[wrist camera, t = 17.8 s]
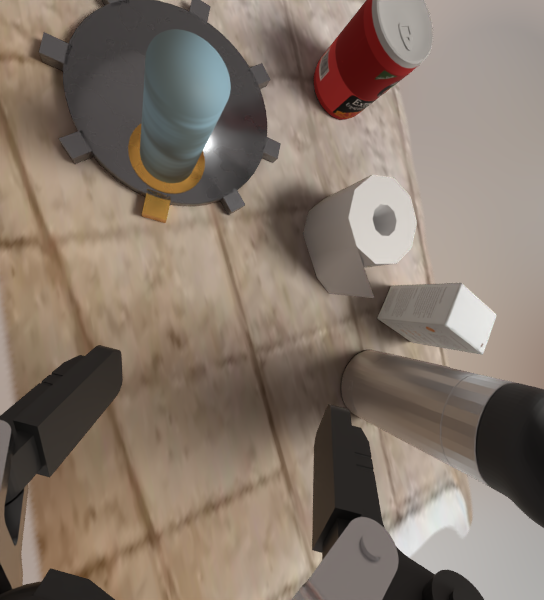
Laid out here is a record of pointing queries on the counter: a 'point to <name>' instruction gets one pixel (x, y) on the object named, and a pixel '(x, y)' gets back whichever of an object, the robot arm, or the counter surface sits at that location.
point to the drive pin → (180, 102)
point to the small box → (439, 316)
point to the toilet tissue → (359, 233)
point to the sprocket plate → (129, 101)
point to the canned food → (372, 55)
